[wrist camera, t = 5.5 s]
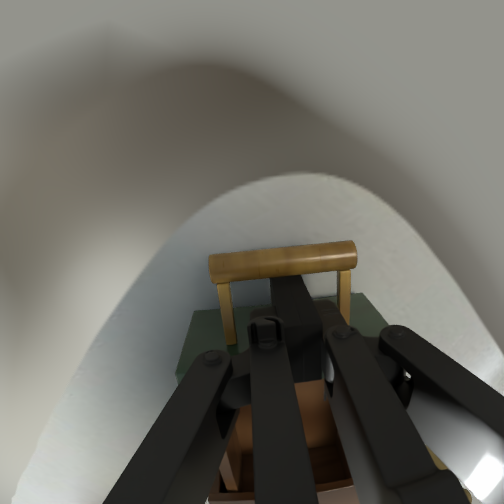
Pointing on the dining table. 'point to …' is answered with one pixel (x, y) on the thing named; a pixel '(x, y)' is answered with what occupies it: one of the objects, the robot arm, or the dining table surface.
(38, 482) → the dining table surface
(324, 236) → the dining table surface
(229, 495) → the cabinet
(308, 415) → the drawer
